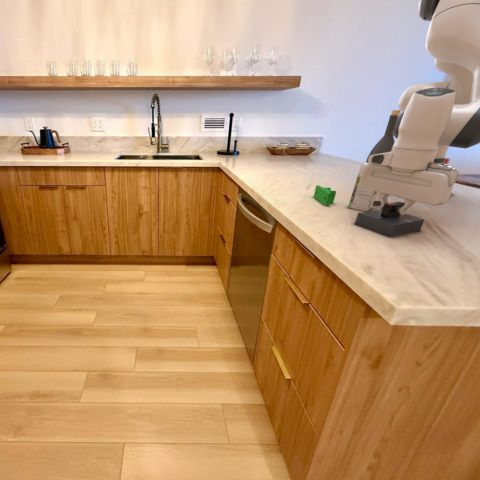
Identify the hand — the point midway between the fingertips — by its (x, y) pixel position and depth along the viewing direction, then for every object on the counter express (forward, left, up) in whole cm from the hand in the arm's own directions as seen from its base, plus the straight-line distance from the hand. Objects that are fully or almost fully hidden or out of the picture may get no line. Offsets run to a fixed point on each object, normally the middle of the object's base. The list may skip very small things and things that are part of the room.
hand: (391, 212), depth 78 cm
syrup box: (-10, -15, -5) cm, 19 cm away
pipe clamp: (-5, -25, -5) cm, 26 cm away
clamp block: (0, 0, -5) cm, 5 cm away
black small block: (0, 0, -1) cm, 1 cm away
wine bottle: (-19, -19, -5) cm, 27 cm away
